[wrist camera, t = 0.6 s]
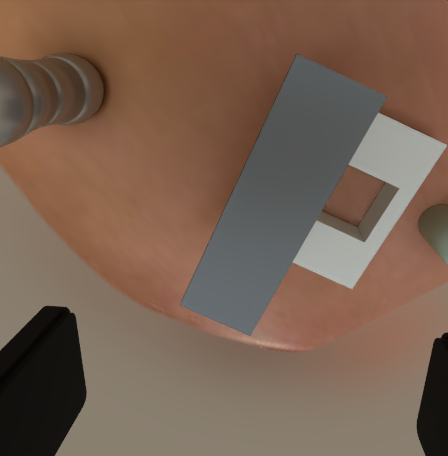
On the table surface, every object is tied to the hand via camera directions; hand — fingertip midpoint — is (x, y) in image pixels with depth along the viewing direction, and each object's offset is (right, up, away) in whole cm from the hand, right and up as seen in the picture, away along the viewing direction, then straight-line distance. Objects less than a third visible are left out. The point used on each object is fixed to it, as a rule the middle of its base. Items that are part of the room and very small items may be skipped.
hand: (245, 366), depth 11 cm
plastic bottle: (-15, +18, +31) cm, 39 cm away
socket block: (+9, +9, +32) cm, 34 cm away
